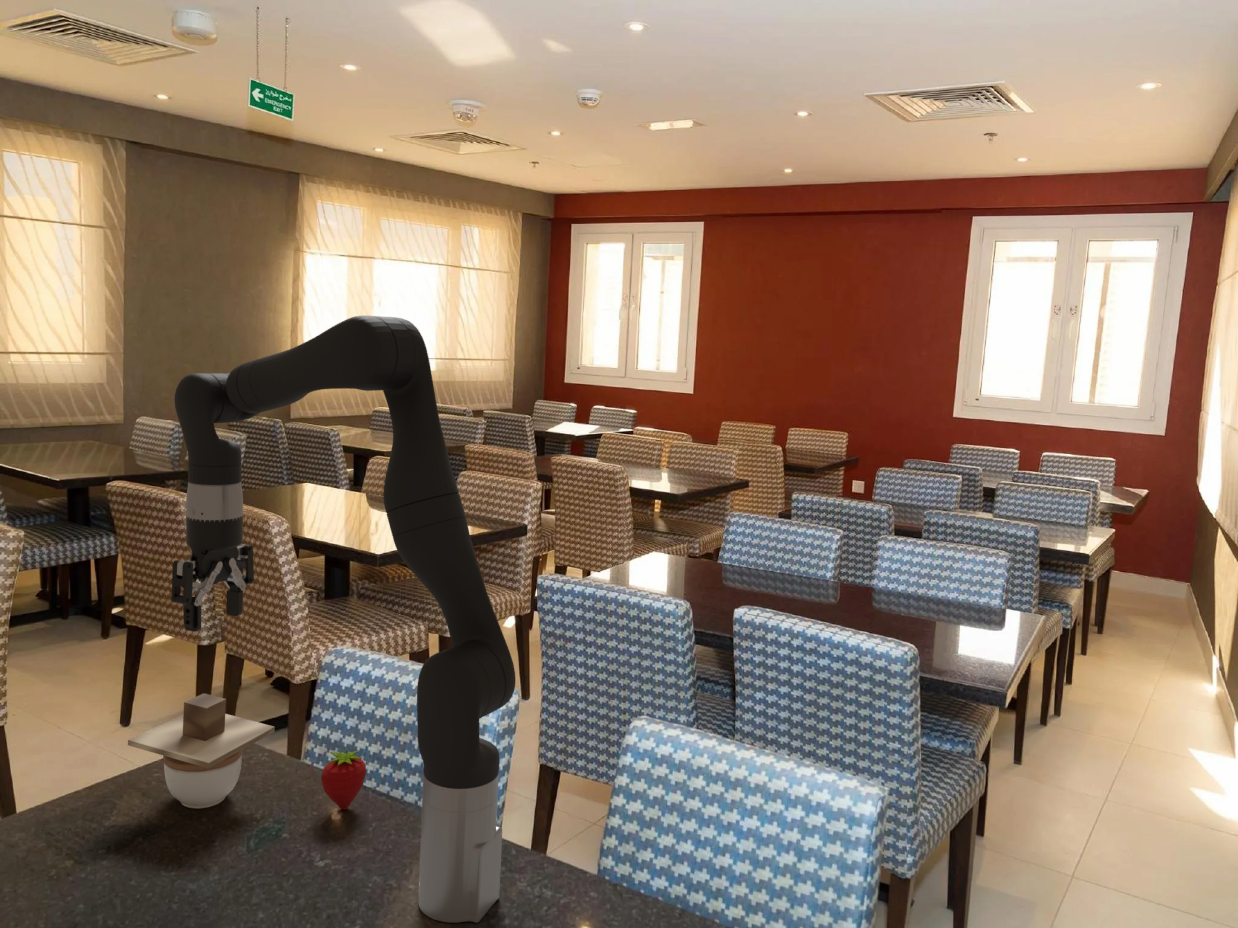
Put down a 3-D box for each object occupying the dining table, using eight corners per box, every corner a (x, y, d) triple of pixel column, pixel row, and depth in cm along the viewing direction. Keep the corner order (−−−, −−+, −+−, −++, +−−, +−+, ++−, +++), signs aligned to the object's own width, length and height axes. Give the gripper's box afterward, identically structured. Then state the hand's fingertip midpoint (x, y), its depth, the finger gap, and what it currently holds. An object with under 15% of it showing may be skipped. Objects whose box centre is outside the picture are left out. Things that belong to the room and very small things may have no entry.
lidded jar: (187, 824, 136) (188, 760, 135) (149, 798, 143) (148, 737, 141) (256, 798, 145) (257, 738, 143) (217, 775, 151) (217, 717, 150)
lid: (274, 731, 147) (276, 695, 146) (208, 768, 134) (210, 728, 133) (199, 711, 151) (200, 675, 150) (127, 745, 138) (129, 706, 137)
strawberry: (310, 816, 140) (312, 751, 139) (339, 793, 147) (340, 731, 146) (347, 824, 139) (348, 758, 137) (374, 801, 146) (376, 737, 145)
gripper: (201, 524, 131) (200, 639, 133) (269, 508, 145) (267, 613, 147) (156, 517, 133) (156, 631, 136) (227, 502, 147) (226, 606, 149)
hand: (214, 622), depth 141 cm, fingers open, 8 cm apart
